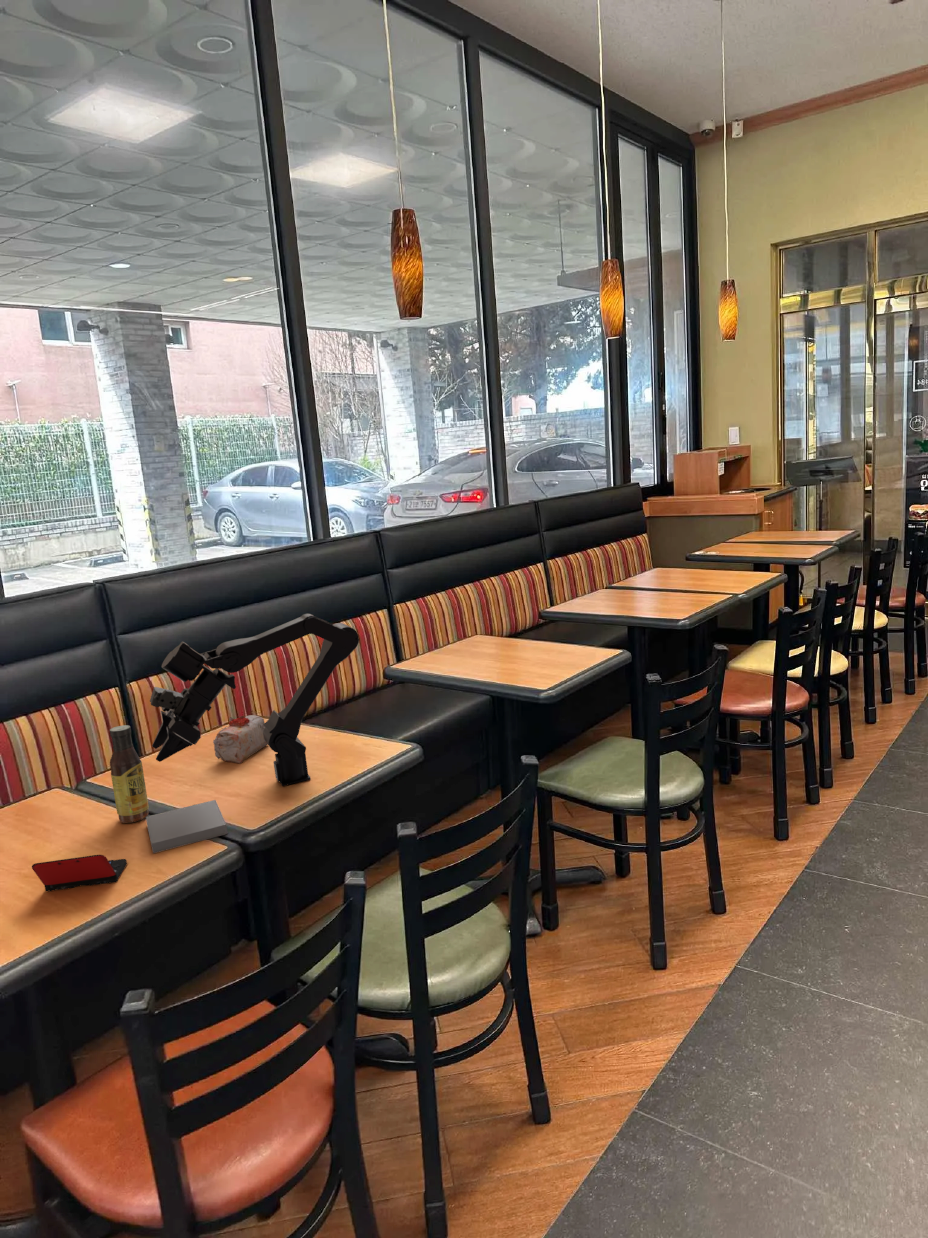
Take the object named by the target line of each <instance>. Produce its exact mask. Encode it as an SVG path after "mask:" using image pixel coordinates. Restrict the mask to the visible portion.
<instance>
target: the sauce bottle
mask: <svg viewBox="0 0 928 1238" xmlns="http://www.w3.org/2000/svg"><path fill="white" fill-rule="evenodd" d="M109 734H110V738H111V740H112V749H113V753H112V754H111V757H110V761H109V767H110V776H111V783H112V789H113V794H114V795H113V796H114V802H115V807H116V814H117V815H118V821H119V822H121V823H123V824H132V823H136V822H140V821H142V820H144V819H146V817H147V816H149V812H150V811H149V808H150V807H149V800H148V792H147V787H146V786H147V785H146V780H145V776H144V775H145V774H144V767H143V762H142V760H141V758H140V757H139V754H138V753H137V751H136V749H135V747H134V744H133V741H132V728H131V726H130V725H128V724H126V725H125V724H124V725H123V724H122V725H119V726H118V725H117V726H114V727H112V728H109Z"/></svg>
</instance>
